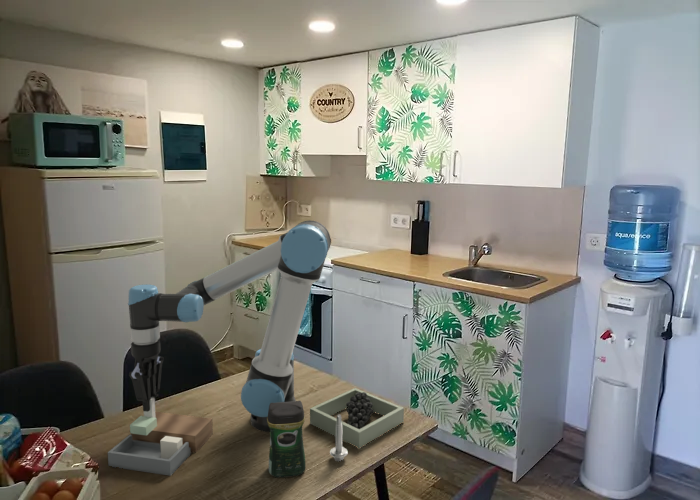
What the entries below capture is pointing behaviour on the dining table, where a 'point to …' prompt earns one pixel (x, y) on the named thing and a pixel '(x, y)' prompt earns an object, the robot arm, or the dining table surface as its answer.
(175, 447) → the cream tile
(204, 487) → the dining table surface
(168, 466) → the tray
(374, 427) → the fruit crate
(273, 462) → the coffee jar
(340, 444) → the screw
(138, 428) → the sage tile
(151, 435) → the walnut riser
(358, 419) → the fruit
